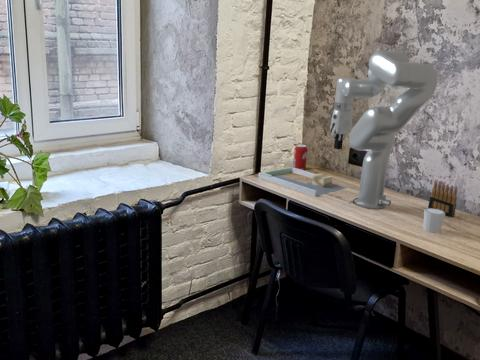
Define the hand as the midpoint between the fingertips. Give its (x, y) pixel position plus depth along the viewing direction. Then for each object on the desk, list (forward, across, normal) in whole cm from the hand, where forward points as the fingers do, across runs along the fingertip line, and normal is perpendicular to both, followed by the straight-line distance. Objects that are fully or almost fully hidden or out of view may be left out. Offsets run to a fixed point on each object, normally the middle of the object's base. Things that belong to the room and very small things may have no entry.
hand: (337, 148), depth 216 cm
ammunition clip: (+16, +6, -47) cm, 50 cm away
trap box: (+17, -14, +7) cm, 23 cm away
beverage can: (+17, +8, +27) cm, 33 cm away
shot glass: (+16, -16, -54) cm, 59 cm away
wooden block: (+15, -9, 0) cm, 18 cm away
